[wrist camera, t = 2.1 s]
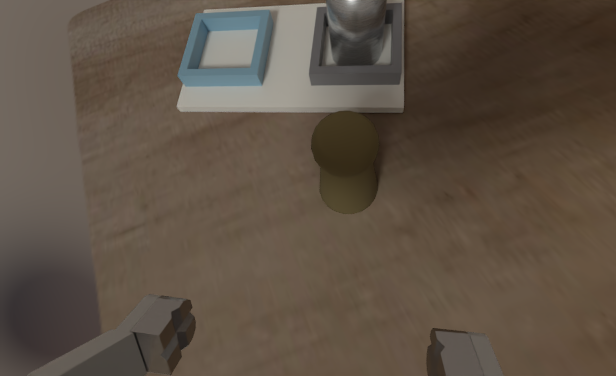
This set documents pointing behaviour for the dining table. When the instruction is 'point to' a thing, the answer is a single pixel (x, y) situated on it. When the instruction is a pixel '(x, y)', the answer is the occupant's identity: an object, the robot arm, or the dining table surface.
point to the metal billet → (356, 31)
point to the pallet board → (286, 63)
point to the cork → (346, 160)
